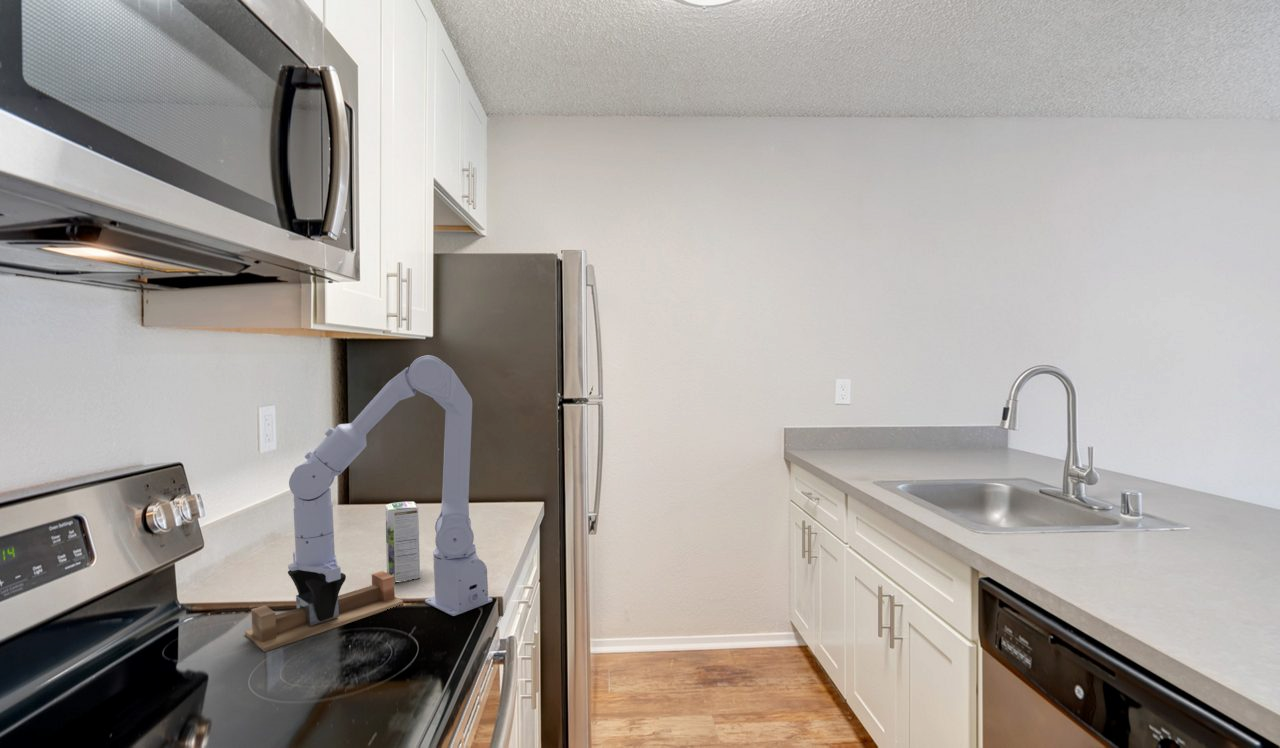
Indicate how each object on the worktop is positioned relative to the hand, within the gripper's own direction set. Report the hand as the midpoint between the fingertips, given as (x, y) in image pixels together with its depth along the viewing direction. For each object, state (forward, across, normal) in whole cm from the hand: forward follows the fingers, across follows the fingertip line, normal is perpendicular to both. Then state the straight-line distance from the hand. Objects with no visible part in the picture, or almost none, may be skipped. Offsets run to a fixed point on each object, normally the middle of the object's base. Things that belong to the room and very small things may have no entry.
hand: (318, 613), depth 103 cm
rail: (+1, 0, +2) cm, 2 cm away
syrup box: (+2, -8, +19) cm, 21 cm away
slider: (+1, 0, 0) cm, 1 cm away
